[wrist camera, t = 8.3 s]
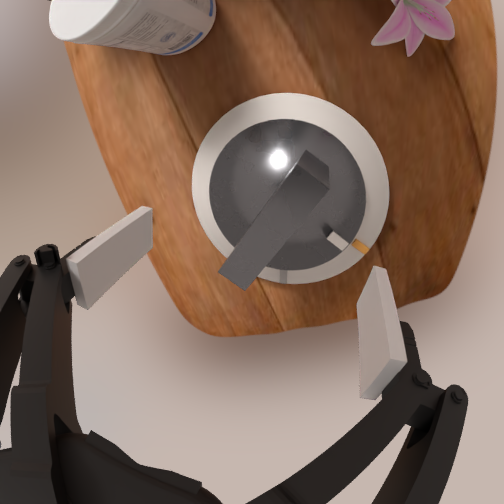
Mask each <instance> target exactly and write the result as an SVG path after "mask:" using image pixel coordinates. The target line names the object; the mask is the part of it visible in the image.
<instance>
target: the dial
mask: <svg viewBox="0 0 504 504" xmlns="http://www.w3.org/2000/svg"><path fill="white" fill-rule="evenodd" d="M209 199H210V205H211V210H212V213H213V216H214V219H215V221H216V223H217V225H218V227H219V229H220V231H221V232H222V234H223V235H224V237H225V238H226V239H227V240H228V242H229V243H230V244H231V245H232V246H233V247H234V249H233V250H232V252H231V253H230V255H229V256H228V258H227V259H226V261H225V262H224V264H223V265H222V267H221V268H220V270H219V271H218V272H219V273H220V274H221V275H223V276H224V277H226V278H227V279H229V280H230V281H231V282H233V283H234V284H236V285H237V286H239V287H240V288H242V289H243V290H244V291H245V290H246V289H247V288H248V287H249V285H250V284H251V283H252V282H253V281H254V280H255V278H256V277H257V276H258V275H259V274H260V272H261V271H262V270H263V269H264V268H265V267H270V268H274V269H279V270H304V269H309V268H313V267H317V266H319V265H322V264H324V263H326V262H328V261H330V260H332V259H333V258H335V257H336V256H338V255H339V254H340V253H341V252H343V251H344V250H345V249H346V248H347V247H348V245H349V244H350V243H351V242H352V241H353V239H354V238H355V236H356V234H357V233H358V231H359V229H360V226H361V224H362V221H363V217H364V214H365V207H366V190H365V183H364V179H363V176H362V173H361V170H360V168H359V166H358V164H357V162H356V160H355V159H354V157H353V155H352V154H351V152H350V151H349V150H348V149H347V147H346V146H345V145H344V144H343V143H342V142H341V141H340V140H339V139H338V138H336V137H335V136H334V135H333V134H331V133H330V132H328V131H327V130H325V129H323V128H321V127H319V126H317V125H315V124H312V123H309V122H305V121H301V120H295V119H276V120H268V121H264V122H260V123H257V124H255V125H253V126H250V127H248V128H246V129H245V130H243V131H241V132H240V133H238V134H237V135H236V136H235V137H233V138H232V139H231V140H230V141H229V142H228V143H227V144H226V145H225V147H224V148H223V149H222V151H221V152H220V154H219V156H218V157H217V159H216V161H215V164H214V166H213V169H212V172H211V177H210V183H209Z"/></svg>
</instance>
